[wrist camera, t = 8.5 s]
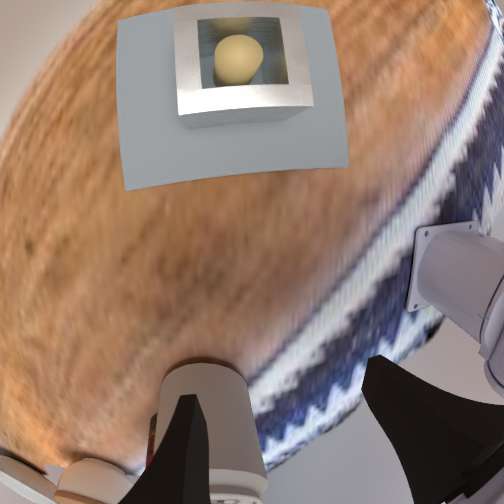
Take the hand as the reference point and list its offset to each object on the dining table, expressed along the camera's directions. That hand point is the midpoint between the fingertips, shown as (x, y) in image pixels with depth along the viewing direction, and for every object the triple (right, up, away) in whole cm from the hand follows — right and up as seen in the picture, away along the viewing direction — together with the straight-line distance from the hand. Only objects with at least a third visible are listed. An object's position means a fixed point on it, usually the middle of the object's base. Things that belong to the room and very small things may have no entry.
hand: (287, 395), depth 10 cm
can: (-6, -6, +12) cm, 14 cm away
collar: (-3, +16, +4) cm, 16 cm away
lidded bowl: (-24, -26, +16) cm, 39 cm away
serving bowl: (-50, -42, +17) cm, 68 cm away
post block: (-3, +16, +5) cm, 17 cm away
